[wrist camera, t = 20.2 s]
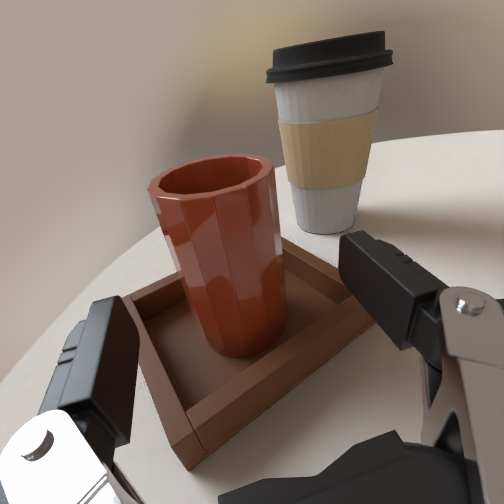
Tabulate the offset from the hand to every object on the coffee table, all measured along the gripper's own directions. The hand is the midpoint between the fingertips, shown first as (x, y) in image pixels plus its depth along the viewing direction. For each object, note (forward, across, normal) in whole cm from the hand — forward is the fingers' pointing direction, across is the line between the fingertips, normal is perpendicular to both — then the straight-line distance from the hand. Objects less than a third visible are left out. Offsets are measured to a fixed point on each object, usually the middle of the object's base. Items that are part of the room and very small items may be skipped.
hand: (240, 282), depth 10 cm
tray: (+5, 0, -8) cm, 10 cm away
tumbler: (+5, 0, -8) cm, 9 cm away
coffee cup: (+16, +11, -8) cm, 21 cm away
